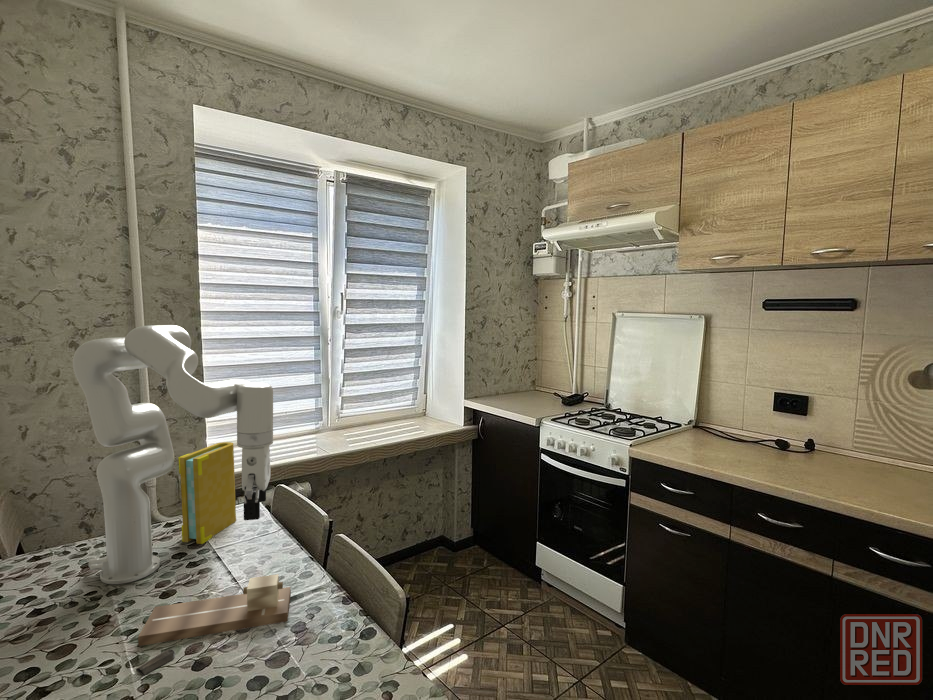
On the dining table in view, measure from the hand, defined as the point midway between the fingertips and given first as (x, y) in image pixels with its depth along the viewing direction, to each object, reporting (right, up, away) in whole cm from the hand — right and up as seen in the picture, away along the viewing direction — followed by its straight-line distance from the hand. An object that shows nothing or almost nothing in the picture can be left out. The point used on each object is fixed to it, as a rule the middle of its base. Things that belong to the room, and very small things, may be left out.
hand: (255, 510), depth 110 cm
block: (-10, -23, -19) cm, 32 cm away
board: (-5, -22, -6) cm, 23 cm away
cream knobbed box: (+4, -20, -4) cm, 20 cm away
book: (-29, -18, +36) cm, 49 cm away
